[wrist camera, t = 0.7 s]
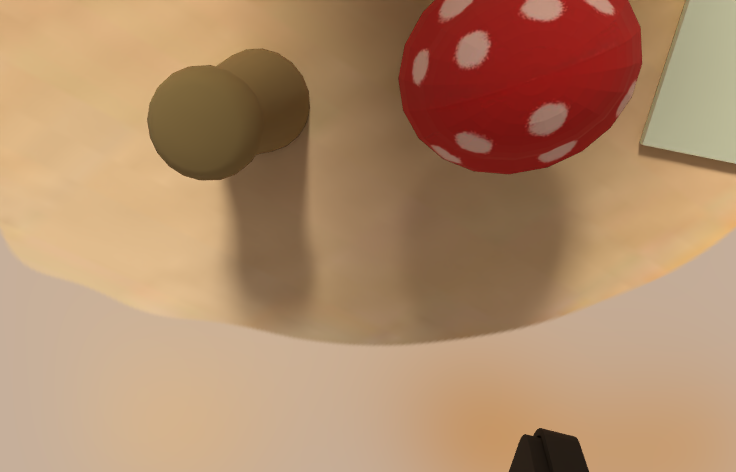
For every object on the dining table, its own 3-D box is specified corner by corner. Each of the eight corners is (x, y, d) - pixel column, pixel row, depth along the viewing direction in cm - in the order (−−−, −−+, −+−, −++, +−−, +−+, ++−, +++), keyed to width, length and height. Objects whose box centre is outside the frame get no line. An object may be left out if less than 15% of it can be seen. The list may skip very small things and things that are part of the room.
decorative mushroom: (435, 158, 38) (434, 237, 24) (387, 14, 36) (354, 6, 22) (605, 102, 36) (711, 151, 22) (564, -55, 34) (654, -112, 20)
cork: (328, 121, 38) (288, 156, 28) (245, 169, 40) (177, 220, 29) (274, 28, 37) (210, 29, 27) (190, 81, 38) (98, 102, 28)
